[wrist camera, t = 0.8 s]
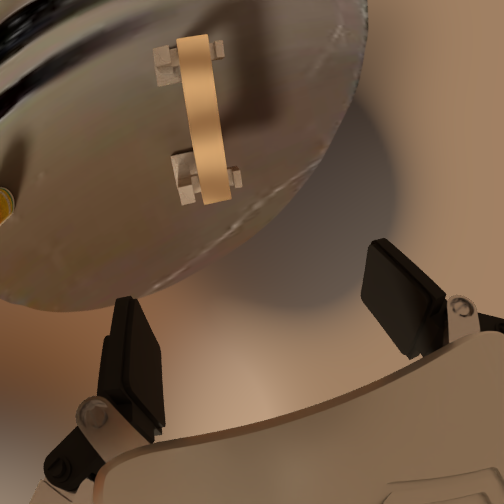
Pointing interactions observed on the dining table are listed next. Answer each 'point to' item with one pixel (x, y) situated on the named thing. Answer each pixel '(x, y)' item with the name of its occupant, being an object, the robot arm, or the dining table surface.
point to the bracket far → (195, 176)
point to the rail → (203, 117)
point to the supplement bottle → (6, 204)
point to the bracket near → (177, 62)
